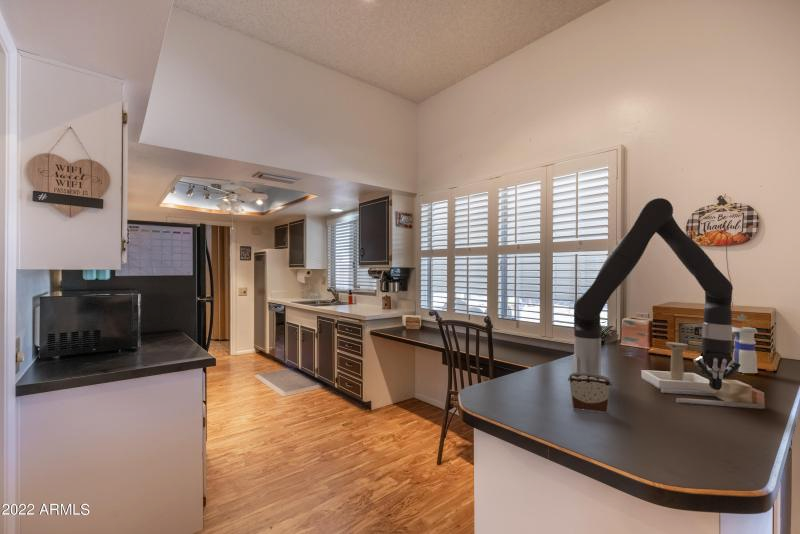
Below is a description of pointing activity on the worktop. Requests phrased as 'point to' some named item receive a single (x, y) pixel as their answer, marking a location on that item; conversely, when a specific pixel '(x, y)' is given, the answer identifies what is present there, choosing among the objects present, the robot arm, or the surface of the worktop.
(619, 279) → the robot arm
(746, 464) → the worktop surface
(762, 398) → the track
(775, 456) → the worktop surface
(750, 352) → the water bottle
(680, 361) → the handle
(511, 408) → the worktop surface
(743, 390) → the block
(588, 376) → the food container
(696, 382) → the tray
